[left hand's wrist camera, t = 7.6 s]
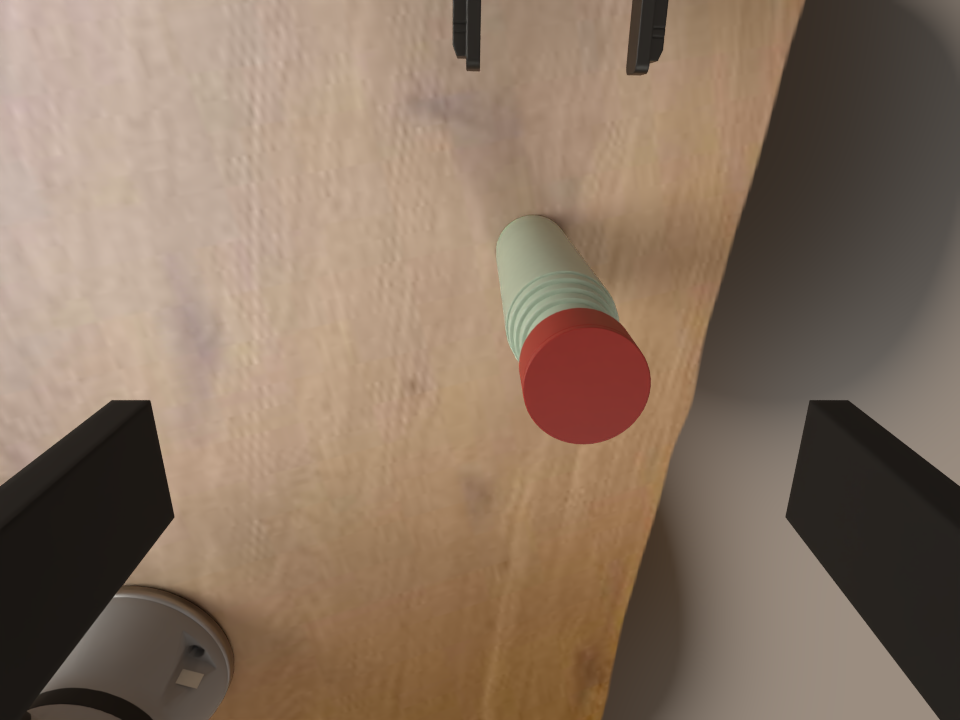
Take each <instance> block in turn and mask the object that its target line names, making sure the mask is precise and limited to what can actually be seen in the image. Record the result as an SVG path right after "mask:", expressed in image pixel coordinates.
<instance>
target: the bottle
mask: <svg viewBox="0 0 960 720" xmlns="http://www.w3.org/2000/svg"><path fill="white" fill-rule="evenodd" d="M496 259H497V267H498V275H499V282H500V290H501V298H502V305H503V313H504V321H505V328H506V335H507V340H508V343H509V345H510V348H511V350H512V351H513V354H514V355H515V357H516V359H517V360H518V362H519V358H520V353H521V349H522V347H523V344H524V342H525V340H526V338H527V336H528V335H529V334H530V332H531V331H532V330H533V329H534V328H535V326H536V325H537V324H539V323H540V322H541V321H542V320H544V319H545V318H547V317H548V316H550V315H552V314H554V313H556V312H559V311H562V310H566V309H571V308H589V309H595V310H598V311H601V312H604V313H606V314H608V315H610V316H611V317H613V318H614V319H616V320H617V321H618V322H619V317H618V313H617V310H616V306H615V303H614V301H613V299H612V297H611V295H610V294H609V292H608V291H607V290H606V288H605V287H604V286H603V284H602V283H601V282H600V280H599V279H598V278H597V276H596V275H595V274H594V272H593V271H592V269H591V268H590V267H589V265H588V264H587V263H586V261H585V260H584V259H583V257H582V256H581V255H580V253H579V252H578V251H577V249H576V248H575V247H574V245H573V244H572V243H571V241H570V240H569V239H568V237H567V236H566V235H565V233H564V232H563V231H562V229H561V228H560V227H559V226H558V225H557V224H556V223H555V222H553V221H552V220H550V219H548V218H546V217H543V216H538V215H527V216H523V217H520V218H518V219H516V220H514V221H512V222H511V223H510V224H508V225H507V226H506V227H505V229H504V230H503V231H502V233H501V234H500V236H499V239H498V242H497V246H496Z"/></svg>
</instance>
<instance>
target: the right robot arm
mask: <svg viewBox="0 0 960 720" xmlns="http://www.w3.org/2000/svg"><path fill="white" fill-rule="evenodd" d="M667 8H668V0H633V1H632V12H631V23H630V33H629V44H628V55H627V66H626V73H627V75H644V74H647V72H648V69H649V64H650V63H653V62H656V61H658V59H659V57H660V55H661V53H662V51H663V44H664V35H665V26H666V17H667ZM480 27H481V0H453V47H454V50H455V53H456V56H457V58H461V59H466V70H467V71H480Z"/></svg>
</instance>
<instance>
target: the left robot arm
mask: <svg viewBox="0 0 960 720" xmlns="http://www.w3.org/2000/svg"><path fill="white" fill-rule="evenodd" d="M173 518H174V512H173V507H172V502H171V498H170V493H169V488H168V483H167V478H166V474H165V469H164V464H163V459H162V454H161V449H160V445H159V440H158V435H157V430H156V425H155V421H154V416H153V411H152V406H151V401H150V400H112V401H110V402H109V403H108V404H106V405H105V406H104V407H103V408H101V409H100V410H99V411H97V412H96V413H95V414H93V415H92V416H91V417H90V418H88V419H87V420H86V421H84V422H83V423H82V424H81V425H79V426H78V427H77V428H75V429H74V430H73V431H71V432H70V433H69V434H68V435H66V436H65V437H64V438H62V439H61V440H60V441H58V442H57V443H56V444H55V445H53V446H52V447H51V448H49V449H48V450H47V451H45V452H44V453H43V454H42V455H40V456H39V457H38V458H36V459H35V460H34V461H33V462H31V463H30V464H29V465H27V466H26V467H25V468H23V469H22V470H21V471H20V472H18V473H17V474H16V475H14V476H13V477H12V478H10V479H9V480H8V481H7V482H5V483H4V484H3V485H1V486H0V720H209V718H210V717H211V716H212V715H213V714H214V712H215V711H216V709H217V708H218V706H219V705H220V703H221V702H222V700H223V698H224V696H225V694H226V692H227V690H228V687H229V685H230V683H231V680H232V677H233V672H234V657H233V652H232V649H231V646H230V643H229V641H228V639H227V637H226V635H225V634H224V632H223V631H222V629H221V628H220V627H219V625H218V624H217V623H216V622H215V621H214V620H213V619H212V618H211V617H210V616H209V615H208V614H207V613H205V612H204V611H203V610H202V609H200V608H199V607H197V606H196V605H194V604H193V603H191V602H189V601H187V600H185V599H183V598H181V597H179V596H177V595H174V594H172V593H169V592H166V591H162V590H159V589H154V588H149V587H141V586H122V585H123V584H124V583H125V581H126V580H127V579H128V577H129V576H130V575H131V574H132V572H133V571H134V570H135V568H136V567H137V566H138V564H139V563H140V562H141V560H142V559H143V558H144V556H145V555H146V554H147V553H148V551H149V550H150V549H151V547H152V546H153V545H154V543H155V542H156V541H157V539H158V538H159V537H160V535H161V534H162V533H163V532H164V530H165V529H166V528H167V526H168V525H169V524H170V522H171V521H172V520H173ZM786 518H787V520H788V521H789V522H790V524H791V525H792V526H793V528H794V529H795V530H796V532H797V533H798V534H799V535H800V537H801V538H802V539H803V541H804V542H805V543H806V545H807V546H808V547H809V549H810V550H811V551H812V553H813V554H814V555H815V556H816V558H817V559H818V560H819V562H820V563H821V564H822V566H823V567H824V568H825V570H826V571H827V572H828V573H829V575H830V576H831V577H832V579H833V580H834V581H835V583H836V584H837V585H838V587H839V588H840V589H841V591H842V592H843V593H844V594H845V596H846V597H847V598H848V600H849V601H850V602H851V604H852V605H853V606H854V608H855V609H856V610H857V612H858V613H859V614H860V615H861V617H862V618H863V619H864V621H865V622H866V623H867V625H868V626H869V627H870V629H871V630H872V631H873V632H874V634H875V635H876V636H877V638H878V639H879V640H880V642H881V643H882V644H883V646H884V647H885V648H886V650H887V651H888V652H889V653H890V655H891V656H892V657H893V659H894V660H895V661H896V663H897V664H898V665H899V667H900V668H901V669H902V671H903V672H904V673H905V674H906V676H907V677H908V678H909V680H910V681H911V682H912V684H913V685H914V686H915V688H916V689H917V690H918V692H919V693H920V694H921V695H922V697H923V698H924V699H925V701H926V702H927V703H928V705H929V706H930V707H931V709H932V710H933V711H934V712H935V714H936V715H937V716H938V718H939V719H940V720H960V486H959V485H957V484H956V483H955V482H953V481H952V480H951V479H950V478H948V477H947V476H946V475H944V474H943V473H942V472H940V471H939V470H938V469H937V468H935V467H934V466H933V465H931V464H930V463H929V462H927V461H926V460H925V459H924V458H922V457H921V456H920V455H918V454H917V453H916V452H915V451H913V450H912V449H911V448H909V447H908V446H907V445H905V444H904V443H903V442H901V441H900V440H899V439H898V438H896V437H895V436H894V435H892V434H891V433H890V432H889V431H887V430H886V429H885V428H883V427H882V426H881V425H879V424H878V423H877V422H876V421H874V420H873V419H872V418H870V417H869V416H868V415H866V414H865V413H864V412H863V411H861V410H860V409H859V408H857V407H856V406H855V405H854V404H852V403H851V402H850V401H848V400H810V401H809V406H808V411H807V416H806V421H805V426H804V430H803V435H802V440H801V445H800V450H799V454H798V459H797V464H796V469H795V474H794V478H793V483H792V488H791V493H790V498H789V503H788V507H787V512H786Z"/></svg>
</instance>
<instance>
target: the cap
mask: <svg viewBox="0 0 960 720" xmlns="http://www.w3.org/2000/svg"><path fill="white" fill-rule="evenodd" d="M519 372H520V378H521V384H522V391H523V397H524V401H525V405H526V408H527V411H528V413H529V414H530V416H531V418H532V419H533V421H534V422H535V423H536V424H537V425H538V426H539V427H540V428H541V429H542V430H543V431H544V432H546V433H547V434H549V435H550V436H552V437H554V438H556V439H558V440H561V441H564V442H568V443H574V444H593V443H598V442H602V441H605V440H608V439H611V438H613V437H615V436H617V435H619V434H620V433H622V432H623V431H625V430H626V429H627V428H629V427H630V426H631V425H632V424H633V423H634V422H635V421H636V420H637V418H638V417H639V416H640V414H641V413H642V411H643V409H644V407H645V405H646V403H647V400H648V397H649V393H650V387H651V378H650V371H649V367H648V364H647V362H646V359H645V357H644V356H643V354H642V352H641V351H640V349H639V348H638V347H637V345H636V344H635V342H634V341H633V339H632V338H631V337H630V335H629V334H628V332H627V331H626V329H625V328H624V327H623V326H622V325H621V324H620V323H619V322H618V321H617V320H616V319H614V318H613V317H611V316H610V315H608V314H606V313H604V312H601V311H598V310H595V309H589V308H571V309H566V310H562V311H559V312H556V313H554V314H552V315H550V316H548V317H547V318H545V319H544V320H542V321H541V322H540V323H539V324H537V325H536V326H535V328H534V329H533V330H532V331H531V332H530V334H529V335H528V336H527V338H526V340H525V342H524V344H523V347H522V349H521V353H520V358H519Z"/></svg>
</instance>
